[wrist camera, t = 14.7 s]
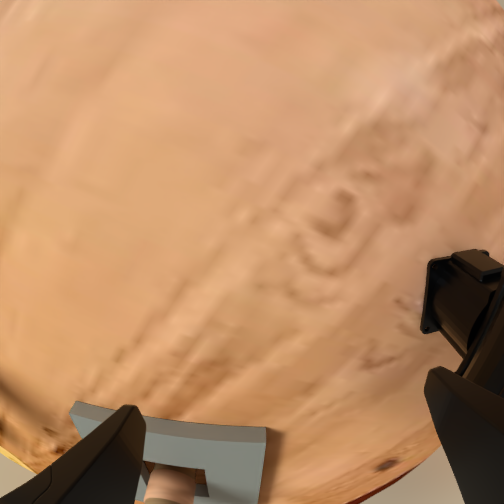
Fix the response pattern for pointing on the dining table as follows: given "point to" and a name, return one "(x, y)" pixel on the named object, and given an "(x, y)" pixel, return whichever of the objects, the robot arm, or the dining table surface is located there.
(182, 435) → the slotted shelf board
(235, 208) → the dining table surface
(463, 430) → the robot arm
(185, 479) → the lidded jar
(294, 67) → the dining table surface
